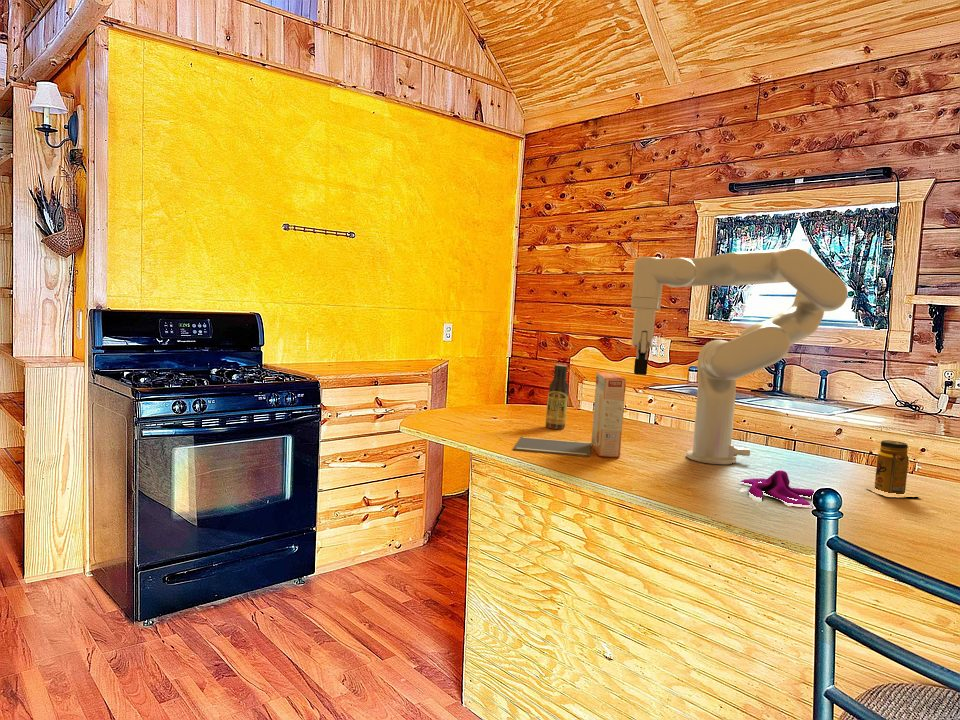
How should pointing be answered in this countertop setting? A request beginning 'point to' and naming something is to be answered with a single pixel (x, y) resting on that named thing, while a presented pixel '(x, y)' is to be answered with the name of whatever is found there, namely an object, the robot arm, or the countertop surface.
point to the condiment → (892, 467)
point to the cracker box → (608, 414)
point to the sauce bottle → (557, 399)
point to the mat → (553, 446)
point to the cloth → (778, 488)
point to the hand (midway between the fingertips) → (640, 374)
